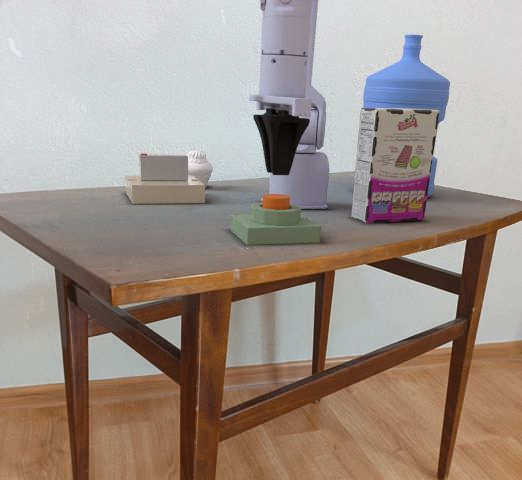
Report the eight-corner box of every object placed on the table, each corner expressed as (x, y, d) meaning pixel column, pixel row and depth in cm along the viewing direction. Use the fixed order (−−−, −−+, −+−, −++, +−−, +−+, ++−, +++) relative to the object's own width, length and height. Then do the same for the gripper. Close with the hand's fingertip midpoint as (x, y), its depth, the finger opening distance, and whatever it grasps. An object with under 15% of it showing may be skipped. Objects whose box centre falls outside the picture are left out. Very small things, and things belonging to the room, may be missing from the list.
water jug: (337, 191, 117) (353, 31, 105) (378, 184, 128) (396, 39, 116) (408, 203, 108) (434, 30, 96) (445, 195, 119) (472, 39, 107)
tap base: (192, 191, 109) (192, 174, 107) (207, 204, 98) (207, 184, 97) (124, 192, 105) (123, 173, 104) (132, 205, 94) (131, 185, 93)
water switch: (298, 229, 84) (300, 200, 83) (319, 242, 78) (322, 212, 76) (230, 230, 82) (231, 201, 80) (247, 245, 75) (248, 213, 73)
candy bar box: (405, 214, 98) (421, 108, 91) (424, 221, 94) (442, 110, 87) (347, 217, 94) (359, 106, 87) (365, 224, 90) (378, 107, 83)
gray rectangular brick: (186, 179, 102) (186, 153, 100) (188, 180, 101) (188, 154, 99) (139, 179, 100) (138, 152, 98) (141, 180, 98) (140, 153, 97)
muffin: (174, 187, 112) (173, 148, 109) (191, 183, 117) (191, 146, 114) (202, 191, 110) (202, 151, 107) (218, 187, 115) (219, 149, 112)
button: (283, 206, 80) (284, 193, 79) (293, 212, 77) (294, 198, 76) (258, 206, 79) (259, 193, 78) (267, 212, 76) (267, 198, 75)
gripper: (235, 55, 76) (232, 165, 81) (272, 52, 63) (265, 182, 69) (287, 59, 78) (281, 166, 83) (332, 56, 65) (321, 182, 71)
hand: (277, 173), depth 76 cm, fingers closed
